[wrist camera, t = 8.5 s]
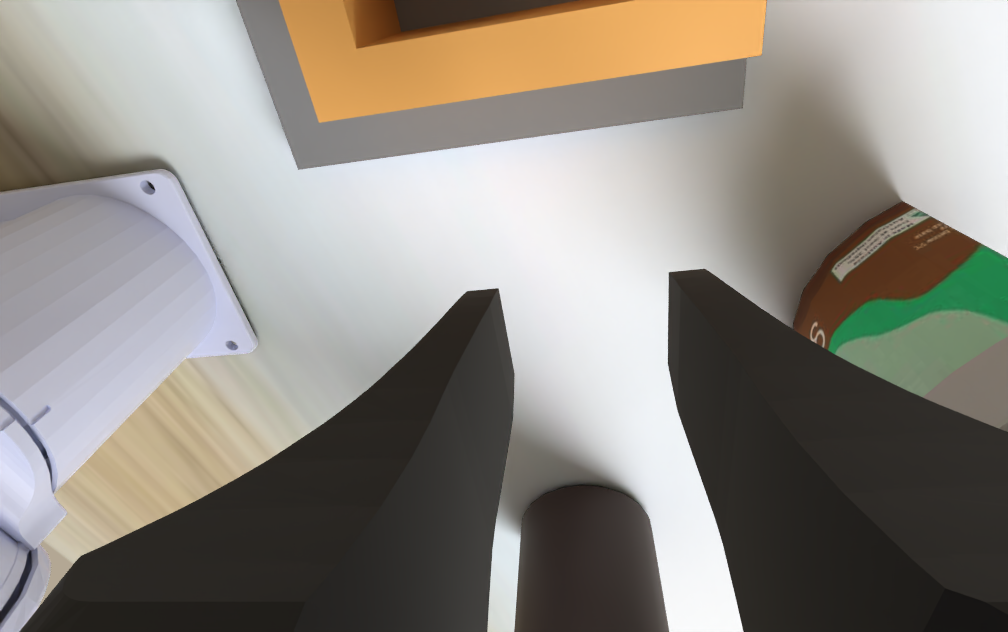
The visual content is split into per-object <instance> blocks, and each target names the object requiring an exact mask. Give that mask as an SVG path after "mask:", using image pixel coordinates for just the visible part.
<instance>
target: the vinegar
mask: <svg viewBox="0 0 1008 632" xmlns="http://www.w3.org/2000/svg"><path fill="white" fill-rule="evenodd" d="M515 632H669V628H668V622H667V616H666V610H665V604H664V598H663V592H662V586H661V580H660V575H659V569H658V563H657V557H656V551H655V545H654V539H653V533H652V528H651V524H650V519H649V517H648V515H647V514H646V512H645V511H644V510H643V509H642V507H641V506H640V505H639V504H638V503H637V502H635V501H634V500H632V499H631V498H629V497H627V496H626V495H624V494H623V493H620V492H617V491H614V490H610V489H607V488H604V487H597V486H586V485H580V486H571V487H563V488H560V489H557V490H555V491H552V492H549V493H546V494H544V495H543V496H541V497H540V498H539V499H537V500H536V501H534V502H533V503H532V504H531V505H530V506H529V508H528V509H527V511H526V513H525V514H524V516H523V518H522V527H521V542H520V557H519V572H518V587H517V602H516V617H515Z"/></svg>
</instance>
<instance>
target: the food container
mask: <svg viewBox="0 0 1008 632" xmlns="http://www.w3.org/2000/svg"><path fill="white" fill-rule="evenodd" d="M793 326H794V330H795V331H796V332H798V333H800V334H801V335H803V336H805V337H806V338H808V339H810V340H811V341H813V342H815V343H817V344H818V345H820V346H822V347H823V348H825V349H827V350H829V351H830V352H832V353H834V354H835V355H837V356H839V357H841V358H843V359H845V360H847V361H848V362H850V363H852V364H854V365H856V366H858V367H860V368H862V369H864V370H866V371H868V372H870V373H872V374H874V375H876V376H878V377H880V378H882V379H884V380H887V381H889V382H891V383H893V384H895V385H897V386H899V387H901V388H903V389H905V390H907V391H909V392H912V393H914V394H916V395H919V396H921V397H923V398H925V399H928V400H930V401H932V402H935V403H937V404H939V405H942V406H944V407H947V408H949V409H952V410H954V411H957V412H959V413H962V414H964V415H966V416H969V417H971V418H974V419H976V420H979V421H981V422H984V423H986V424H989V425H991V426H994V427H996V428H999V429H1002V430H1004V431H1007V432H1008V258H1007V257H1005V256H1003V255H1001V254H999V253H998V252H996V251H994V250H992V249H990V248H988V247H986V246H985V245H983V244H981V243H979V242H977V241H975V240H973V239H972V238H970V237H968V236H966V235H964V234H962V233H961V232H959V231H957V230H955V229H953V228H951V227H949V226H948V225H946V224H944V223H942V222H940V221H938V220H936V219H935V218H933V217H931V216H929V215H927V214H925V213H924V212H922V211H920V210H918V209H916V208H914V207H912V206H911V205H909V204H907V203H905V202H903V201H902V202H900V203H899V204H897V205H895V206H893V207H892V208H890V209H888V210H886V211H885V212H883V213H881V214H879V215H877V216H876V217H874V218H872V219H870V220H869V221H867V222H866V223H864V224H863V225H862V226H861V227H860V228H859V229H857V230H856V231H855V232H854V233H853V234H852V235H850V236H849V237H848V238H847V239H846V240H845V241H844V242H842V243H841V244H840V245H839V246H838V247H837V248H835V249H834V250H833V251H832V252H831V253H830V254H828V256H827V257H826V258H825V260H824V261H823V263H822V264H821V266H820V267H819V268H818V270H817V271H816V273H815V274H814V276H813V277H812V278H811V280H810V281H809V283H808V284H807V286H806V287H805V288H804V290H803V293H802V296H801V299H800V303H799V306H798V309H797V313H796V316H795V319H794V323H793Z"/></svg>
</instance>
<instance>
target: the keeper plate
mask: <svg viewBox="0 0 1008 632" xmlns="http://www.w3.org/2000/svg"><path fill="white" fill-rule="evenodd" d="M573 1H579V0H394V3H395V7H396V12H397V16H398V20H399V25H400V29H401V32H403V31H409V30H415V29H420V28H426V27H432V26H437V25H443V24H449V23H454V22H460V21H466V20H471V19H477V18H483V17H488V16H494V15H500V14H505V13H511V12H517V11H522V10H528V9H534V8H539V7H545V6H551V5H556V4H562V3H568V2H573ZM236 2H237V5H238V7H239V10H240V13H241V15H242V18H243V21H244V24H245V26H246V29H247V32H248V34H249V37H250V40H251V43H252V45H253V48H254V51H255V53H256V56H257V59H258V62H259V64H260V67H261V70H262V72H263V75H264V78H265V81H266V83H267V86H268V89H269V91H270V94H271V97H272V100H273V102H274V105H275V108H276V110H277V113H278V116H279V119H280V121H281V124H282V127H283V129H284V132H285V135H286V138H287V140H288V143H289V146H290V148H291V151H292V154H293V157H294V159H295V162H296V165H297V167H298V170H299V169H306V168H313V167H321V166H328V165H335V164H342V163H350V162H357V161H364V160H371V159H378V158H386V157H393V156H400V155H407V154H415V153H422V152H429V151H436V150H443V149H451V148H458V147H465V146H472V145H480V144H487V143H494V142H501V141H508V140H516V139H523V138H530V137H537V136H545V135H552V134H559V133H566V132H574V131H581V130H588V129H595V128H602V127H610V126H617V125H624V124H631V123H639V122H646V121H653V120H660V119H667V118H675V117H682V116H689V115H696V114H704V113H711V112H718V111H725V110H732V109H740V108H743V96H744V84H745V71H746V59H747V58H741V59H734V60H728V61H721V62H715V63H708V64H702V65H695V66H689V67H682V68H675V69H669V70H662V71H656V72H649V73H643V74H636V75H629V76H623V77H616V78H610V79H603V80H597V81H590V82H584V83H577V84H570V85H564V86H557V87H551V88H544V89H538V90H531V91H524V92H518V93H511V94H505V95H498V96H492V97H485V98H479V99H472V100H465V101H459V102H452V103H446V104H439V105H433V106H426V107H420V108H413V109H406V110H400V111H393V112H387V113H380V114H374V115H367V116H360V117H354V118H347V119H341V120H334V121H328V122H321V123H319V121H318V118H317V115H316V112H315V109H314V106H313V103H312V100H311V97H310V94H309V91H308V88H307V85H306V82H305V79H304V76H303V73H302V70H301V67H300V64H299V61H298V58H297V55H296V52H295V49H294V46H293V43H292V40H291V37H290V34H289V31H288V28H287V25H286V22H285V19H284V16H283V12H282V9H281V6H280V3H279V0H236Z"/></svg>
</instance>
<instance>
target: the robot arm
mask: <svg viewBox="0 0 1008 632" xmlns="http://www.w3.org/2000/svg"><path fill="white" fill-rule="evenodd" d="M147 181H149V182H150V183H152V184H153V186H154V188H155V190H153V189H151V188H150V186H149V185H148V182H147ZM232 341H233V342H235V343H236V344H237V345H235V344H234V343H232ZM257 345H258V341H257V338H256V336H255V334H254V332H253V330H252V328H251V326H250V324H249V322H248V320H247V318H246V316H245V314H244V312H243V310H242V308H241V306H240V304H239V302H238V300H237V298H236V296H235V294H234V292H233V290H232V288H231V286H230V284H229V282H228V280H227V278H226V276H225V274H224V272H223V270H222V268H221V266H220V264H219V262H218V260H217V258H216V256H215V254H214V252H213V250H212V248H211V246H210V244H209V242H208V240H207V238H206V235H205V233H204V231H203V229H202V227H201V225H200V223H199V221H198V219H197V217H196V215H195V213H194V211H193V209H192V207H191V205H190V203H189V201H188V199H187V197H186V195H185V193H184V191H183V189H182V187H181V185H180V183H179V181H178V180H177V178H176V177H175V176H174V175H173V174H172V173H171V172H169V171H167V170H165V169H155V170H149V171H142V172H135V173H128V174H121V175H114V176H107V177H100V178H93V179H87V180H80V181H73V182H66V183H59V184H52V185H45V186H38V187H31V188H24V189H18V190H11V191H4V192H0V632H487V625H488V607H489V591H490V576H491V561H492V547H493V539H494V531H495V523H496V517H497V511H498V505H499V499H500V493H501V487H502V482H503V476H504V470H505V464H506V458H507V452H508V446H509V440H510V434H511V427H512V421H513V403H514V369H513V364H512V358H511V353H510V348H509V342H508V337H507V332H506V326H505V321H504V316H503V310H502V305H501V299H500V294H499V289H487V290H476V291H467V292H466V293H465V294H464V295H463V296H462V297H461V298H460V299H459V300H458V301H457V302H456V303H455V304H454V305H453V306H452V307H451V308H450V309H449V311H448V312H447V313H446V314H445V315H444V316H443V317H442V318H441V319H440V320H439V321H438V323H437V324H436V325H435V326H434V327H433V328H432V329H431V330H430V331H429V332H428V333H427V334H426V335H425V336H424V337H423V338H422V339H421V340H420V341H419V342H418V343H417V344H416V345H415V346H414V347H413V349H411V350H410V351H409V352H408V353H407V354H406V355H405V356H404V357H403V358H402V359H401V360H400V361H399V362H398V363H396V364H395V365H394V366H393V367H392V368H391V369H390V370H389V371H388V372H387V373H386V374H385V375H384V376H383V377H382V378H380V379H379V380H378V381H377V382H376V383H375V384H374V385H373V386H371V387H370V388H369V389H368V390H367V391H365V392H364V393H363V394H362V395H361V396H359V397H358V398H357V399H356V400H354V401H353V402H352V403H350V404H349V405H348V406H346V407H345V408H344V409H343V410H341V411H340V412H339V413H337V414H336V415H335V416H333V417H332V418H331V419H329V420H328V421H327V422H325V423H324V424H322V425H321V426H319V427H318V428H316V429H315V430H313V431H312V432H310V433H309V434H307V435H306V436H304V437H303V438H301V439H300V440H298V441H297V442H295V443H294V444H292V445H291V446H289V447H288V448H286V449H285V450H283V451H282V452H280V453H279V454H277V455H276V456H274V457H272V458H271V459H269V460H268V461H266V462H264V463H263V464H261V465H259V466H258V467H256V468H254V469H252V470H251V471H249V472H247V473H246V474H244V475H242V476H240V477H239V478H237V479H235V480H234V481H232V482H230V483H228V484H226V485H224V486H223V487H221V488H219V489H217V490H215V491H213V492H212V493H210V494H208V495H206V496H204V497H202V498H201V499H199V500H197V501H195V502H193V503H191V504H189V505H187V506H185V507H183V508H181V509H179V510H177V511H175V512H173V513H171V514H169V515H167V516H165V517H163V518H161V519H159V520H157V521H155V522H152V523H150V524H148V525H146V526H144V527H142V528H140V529H138V530H136V531H134V532H132V533H129V534H127V535H125V536H123V537H121V538H119V539H117V540H115V541H113V542H111V543H109V544H106V545H104V546H102V547H100V548H98V549H96V550H93V551H91V552H89V553H87V554H84V555H82V556H81V557H80V558H79V559H78V560H77V561H76V562H75V563H74V564H73V566H72V567H71V568H70V569H69V571H68V572H67V573H66V574H65V576H64V577H63V578H62V579H61V581H60V582H59V583H58V584H57V586H56V587H55V588H54V589H53V590H52V592H51V593H50V594H49V595H48V597H47V598H46V599H45V600H44V602H43V603H42V604H41V605H40V607H39V604H40V602H41V600H42V598H43V596H44V594H45V591H46V588H47V585H48V581H49V578H50V571H51V562H50V559H49V555H48V553H47V552H46V550H45V549H44V548H43V547H42V546H41V545H40V543H41V542H42V541H43V540H44V539H45V538H46V537H47V536H48V535H49V533H50V532H51V531H52V530H53V529H54V528H55V527H56V526H57V525H58V524H59V522H60V521H61V520H62V519H63V518H64V517H65V516H66V515H67V511H66V510H65V509H64V508H63V506H62V505H61V504H60V503H59V502H58V501H57V499H56V498H55V496H54V494H55V493H56V492H57V491H58V490H59V489H60V488H61V487H62V486H63V485H64V483H65V482H66V481H67V480H68V479H69V478H70V477H71V476H72V475H73V474H74V473H75V472H76V471H77V470H78V469H79V468H80V467H81V466H82V465H83V464H84V463H85V462H86V461H87V460H88V459H89V458H90V457H91V456H92V455H93V453H94V452H95V451H96V450H97V449H98V448H99V447H100V446H101V445H102V444H103V443H104V442H105V441H106V440H107V439H108V438H109V437H110V436H111V435H112V434H113V433H114V432H115V431H116V430H117V429H118V428H119V427H120V426H121V425H122V423H123V422H124V421H125V420H126V419H127V418H128V417H129V416H130V415H131V414H132V413H133V412H134V411H135V410H136V409H137V408H138V407H139V406H140V405H141V404H142V403H143V402H144V401H145V400H146V399H147V398H148V397H149V396H150V394H151V393H152V392H153V391H154V390H155V389H156V388H157V387H158V386H159V385H160V384H161V383H162V382H163V381H164V380H165V379H166V378H167V377H168V376H169V375H170V374H171V373H172V372H173V371H174V370H175V369H176V368H177V367H178V366H179V364H180V363H181V362H182V361H183V360H184V359H185V358H197V357H210V356H222V355H234V354H247V353H251V352H252V351H253V350H254V349H255V348H256V347H257ZM668 366H669V371H670V376H671V381H672V386H673V391H674V396H675V401H676V405H677V410H678V413H679V416H680V419H681V422H682V425H683V428H684V431H685V433H686V436H687V439H688V442H689V445H690V448H691V451H692V454H693V456H694V459H695V462H696V465H697V468H698V471H699V474H700V476H701V479H702V482H703V485H704V488H705V491H706V494H707V496H708V499H709V502H710V505H711V508H712V511H713V514H714V516H715V519H716V523H717V526H718V529H719V533H720V536H721V539H722V543H723V546H724V550H725V555H726V559H727V563H728V567H729V571H730V575H731V580H732V584H733V588H734V592H735V596H736V600H737V605H738V609H739V613H740V618H741V622H742V627H743V631H744V632H1008V432H1007V431H1004V430H1002V429H999V428H996V427H994V426H991V425H989V424H986V423H984V422H981V421H979V420H976V419H974V418H971V417H969V416H966V415H964V414H962V413H959V412H957V411H954V410H952V409H949V408H947V407H944V406H942V405H939V404H937V403H935V402H932V401H930V400H928V399H925V398H923V397H921V396H919V395H916V394H914V393H912V392H909V391H907V390H905V389H903V388H901V387H899V386H897V385H895V384H893V383H891V382H889V381H887V380H884V379H882V378H880V377H878V376H876V375H874V374H872V373H870V372H868V371H866V370H864V369H862V368H860V367H858V366H856V365H854V364H852V363H850V362H848V361H847V360H845V359H843V358H841V357H839V356H837V355H835V354H834V353H832V352H830V351H829V350H827V349H825V348H823V347H822V346H820V345H818V344H817V343H815V342H813V341H811V340H810V339H808V338H806V337H805V336H803V335H801V334H800V333H798V332H796V331H795V330H793V329H792V328H790V327H788V326H787V325H785V324H784V323H782V322H781V321H779V320H778V319H776V318H775V317H773V316H772V315H770V314H769V313H767V312H766V311H764V310H763V309H761V308H760V307H758V306H757V305H755V304H754V303H753V302H751V301H750V300H748V299H747V298H745V297H744V296H743V295H741V294H740V293H738V292H737V291H736V290H734V289H733V288H731V287H730V286H729V285H727V284H726V283H725V282H723V281H722V280H720V279H719V278H718V277H716V276H715V275H713V274H712V273H710V272H709V271H707V270H706V269H699V270H689V271H678V272H669V313H668ZM38 607H39V608H38Z"/></svg>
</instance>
